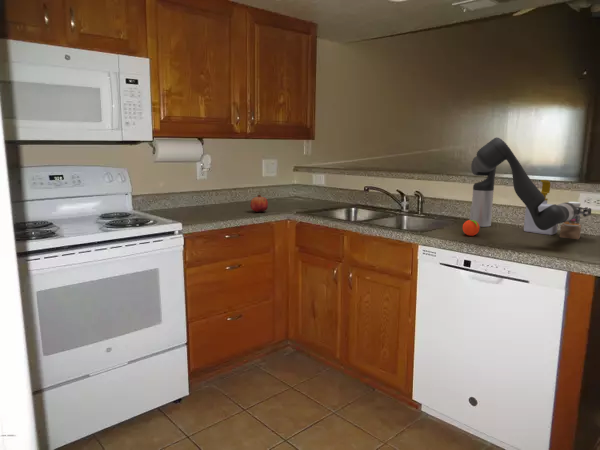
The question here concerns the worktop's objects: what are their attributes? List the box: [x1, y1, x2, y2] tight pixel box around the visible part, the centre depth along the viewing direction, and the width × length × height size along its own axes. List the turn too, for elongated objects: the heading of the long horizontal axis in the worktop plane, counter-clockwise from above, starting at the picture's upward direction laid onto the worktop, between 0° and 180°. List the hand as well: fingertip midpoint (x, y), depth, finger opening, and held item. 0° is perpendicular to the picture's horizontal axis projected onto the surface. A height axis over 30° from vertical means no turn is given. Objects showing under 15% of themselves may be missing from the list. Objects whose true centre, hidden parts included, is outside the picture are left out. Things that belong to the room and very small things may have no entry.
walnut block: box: [559, 223, 582, 240], centre depth 190 cm, size 7×7×5 cm
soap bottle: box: [523, 179, 558, 236], centre depth 198 cm, size 12×7×23 cm, turn 43°
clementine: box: [462, 219, 481, 237], centre depth 192 cm, size 8×7×7 cm
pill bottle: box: [564, 201, 581, 226], centre depth 188 cm, size 6×6×10 cm
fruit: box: [250, 194, 269, 213], centre depth 255 cm, size 11×10×10 cm
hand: (575, 208), depth 189 cm, fingers open, 8 cm apart
